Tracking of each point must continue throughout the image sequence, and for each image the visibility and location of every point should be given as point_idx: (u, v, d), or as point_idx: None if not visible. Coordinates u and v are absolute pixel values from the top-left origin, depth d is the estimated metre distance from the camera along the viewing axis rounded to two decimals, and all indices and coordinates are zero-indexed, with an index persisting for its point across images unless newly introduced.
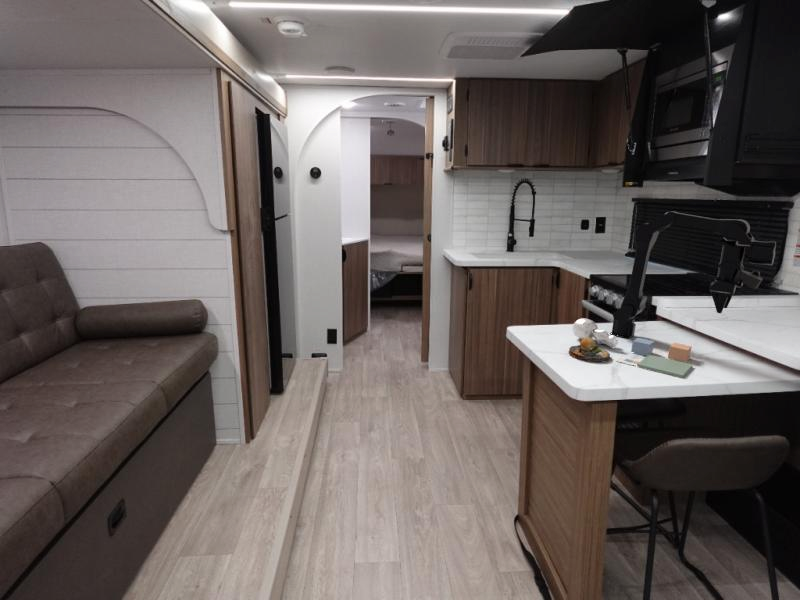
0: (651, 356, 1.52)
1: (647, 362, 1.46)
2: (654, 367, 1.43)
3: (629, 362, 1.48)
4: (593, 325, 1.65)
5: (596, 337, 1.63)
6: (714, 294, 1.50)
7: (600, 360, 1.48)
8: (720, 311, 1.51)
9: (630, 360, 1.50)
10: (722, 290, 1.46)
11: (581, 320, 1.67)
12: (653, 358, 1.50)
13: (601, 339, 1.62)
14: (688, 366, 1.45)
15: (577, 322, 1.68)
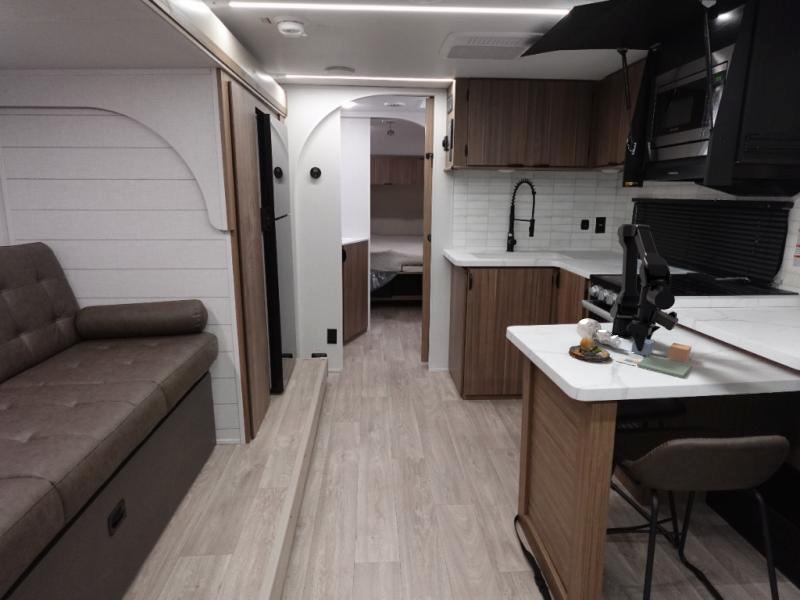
0: (651, 356, 1.52)
1: (647, 362, 1.46)
2: (654, 367, 1.43)
3: (629, 362, 1.48)
4: (596, 325, 1.65)
5: (599, 337, 1.63)
6: (634, 333, 1.54)
7: (600, 360, 1.48)
8: (640, 349, 1.55)
9: (630, 360, 1.50)
10: (637, 332, 1.49)
11: (585, 320, 1.67)
12: (653, 358, 1.50)
13: (604, 339, 1.61)
14: (688, 366, 1.45)
15: (581, 322, 1.68)
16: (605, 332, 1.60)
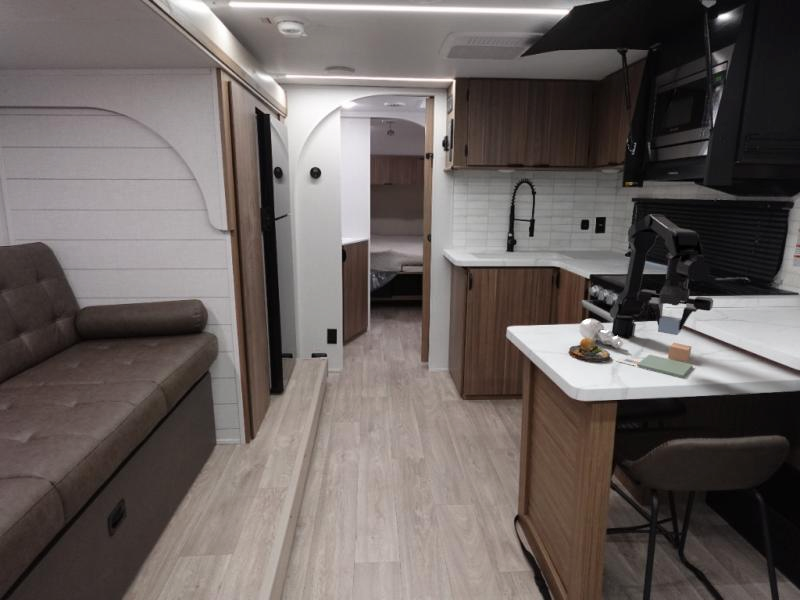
0: (651, 356, 1.52)
1: (647, 362, 1.46)
2: (654, 367, 1.43)
3: (629, 362, 1.48)
4: (599, 325, 1.65)
5: (601, 337, 1.63)
6: None
7: (600, 360, 1.48)
8: None
9: (630, 360, 1.50)
10: None
11: (587, 320, 1.67)
12: (653, 358, 1.50)
13: (605, 340, 1.61)
14: (688, 366, 1.45)
15: (583, 322, 1.68)
16: (607, 332, 1.60)
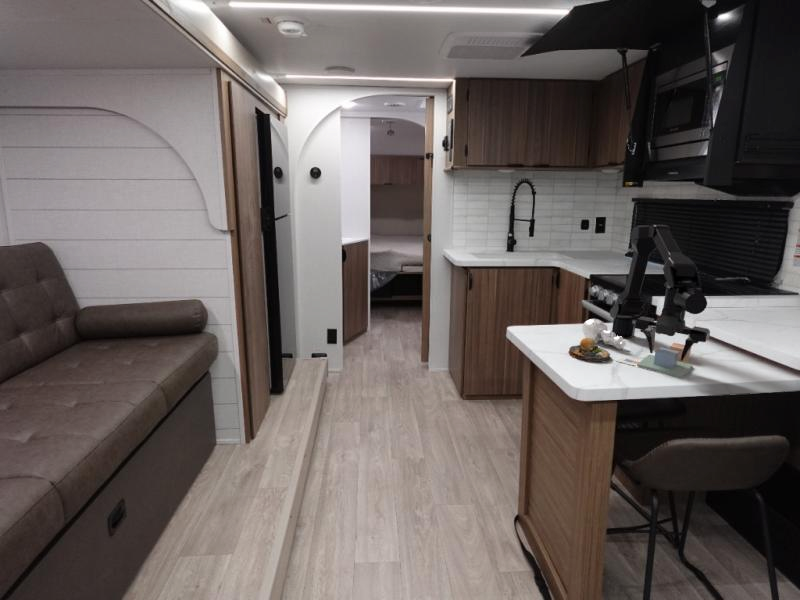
0: (651, 356, 1.52)
1: (647, 362, 1.46)
2: (654, 367, 1.43)
3: (629, 362, 1.48)
4: (601, 326, 1.65)
5: (603, 338, 1.63)
6: None
7: (600, 360, 1.48)
8: None
9: (630, 360, 1.50)
10: None
11: (590, 320, 1.67)
12: (653, 358, 1.50)
13: (607, 340, 1.61)
14: (688, 366, 1.45)
15: (586, 322, 1.68)
16: (609, 333, 1.60)
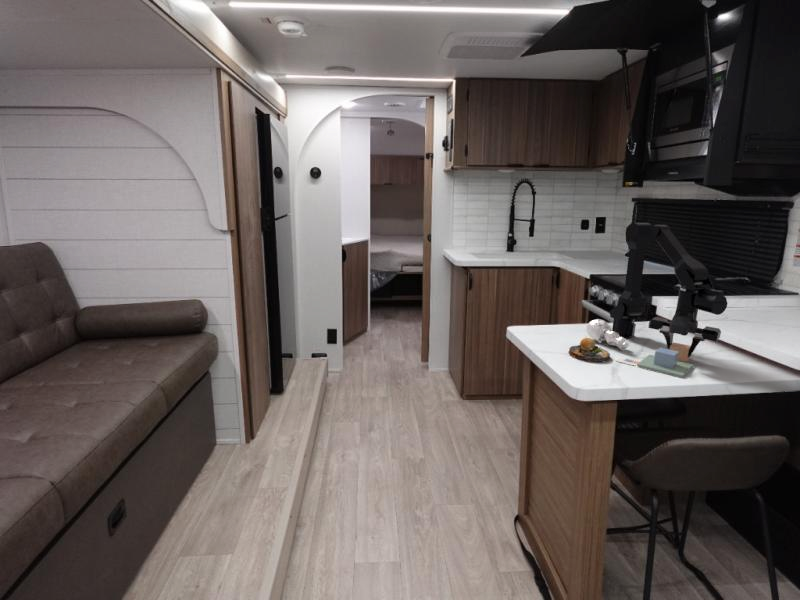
0: (651, 356, 1.52)
1: (647, 362, 1.46)
2: (654, 367, 1.43)
3: (629, 362, 1.48)
4: (605, 326, 1.64)
5: (606, 338, 1.62)
6: None
7: (600, 360, 1.48)
8: None
9: (630, 360, 1.50)
10: None
11: (594, 321, 1.67)
12: (653, 358, 1.50)
13: (610, 340, 1.61)
14: (688, 366, 1.45)
15: (590, 322, 1.68)
16: (611, 333, 1.60)
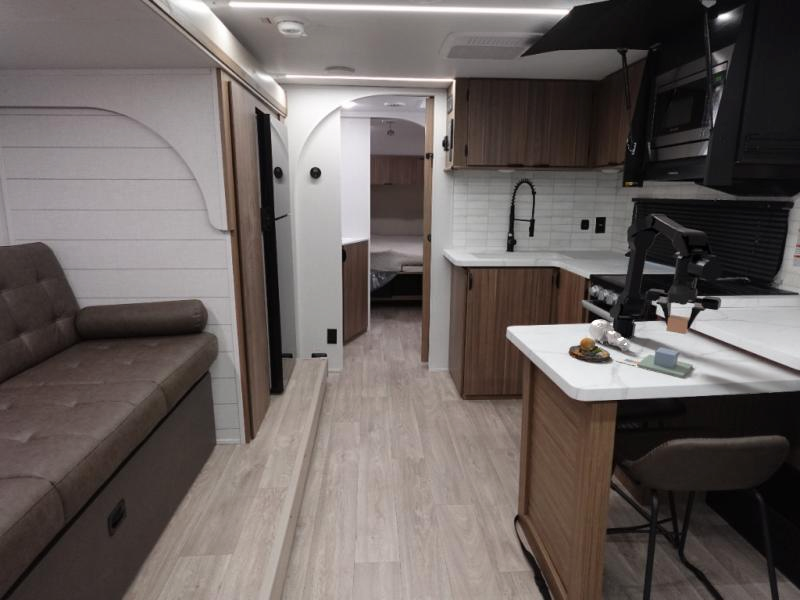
0: (651, 356, 1.52)
1: (647, 362, 1.46)
2: (654, 367, 1.43)
3: (629, 362, 1.48)
4: (607, 326, 1.64)
5: (608, 338, 1.62)
6: None
7: (600, 360, 1.48)
8: None
9: (630, 360, 1.50)
10: None
11: (597, 321, 1.67)
12: (653, 358, 1.50)
13: (612, 341, 1.60)
14: (688, 366, 1.45)
15: (592, 322, 1.68)
16: (613, 333, 1.59)
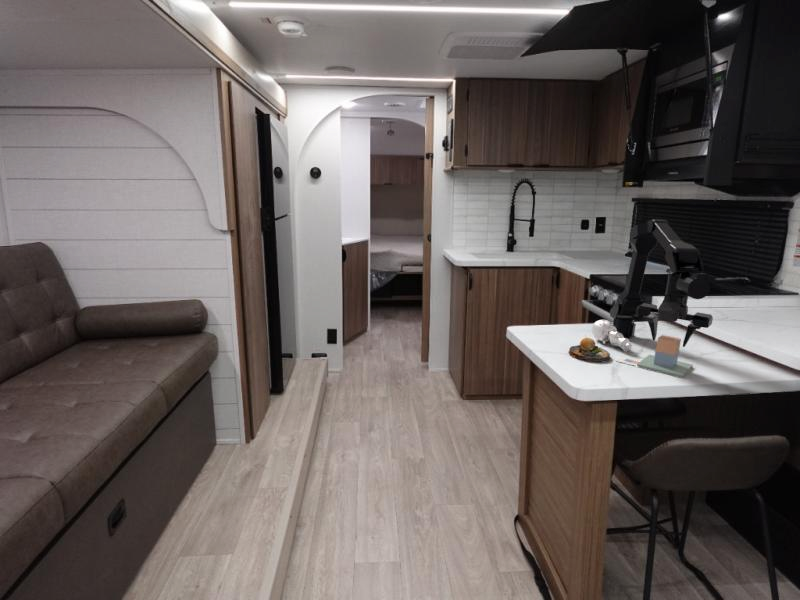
0: (651, 356, 1.52)
1: (647, 362, 1.46)
2: (654, 367, 1.43)
3: (629, 362, 1.48)
4: (610, 327, 1.64)
5: (610, 339, 1.62)
6: None
7: (600, 360, 1.48)
8: None
9: (630, 360, 1.50)
10: None
11: (599, 321, 1.67)
12: (653, 358, 1.50)
13: (613, 341, 1.60)
14: (688, 366, 1.45)
15: (595, 323, 1.68)
16: (615, 334, 1.59)
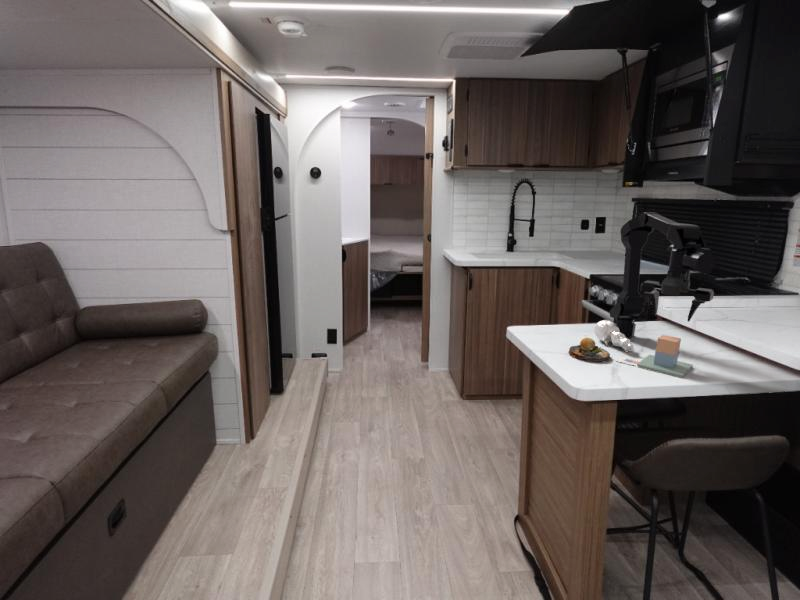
0: (651, 356, 1.52)
1: (647, 362, 1.46)
2: (654, 367, 1.43)
3: (629, 362, 1.48)
4: (612, 327, 1.64)
5: (612, 339, 1.61)
6: None
7: (600, 360, 1.48)
8: None
9: (630, 360, 1.50)
10: None
11: (602, 321, 1.67)
12: (653, 358, 1.50)
13: (615, 341, 1.60)
14: (688, 366, 1.45)
15: (598, 323, 1.67)
16: (616, 334, 1.59)
